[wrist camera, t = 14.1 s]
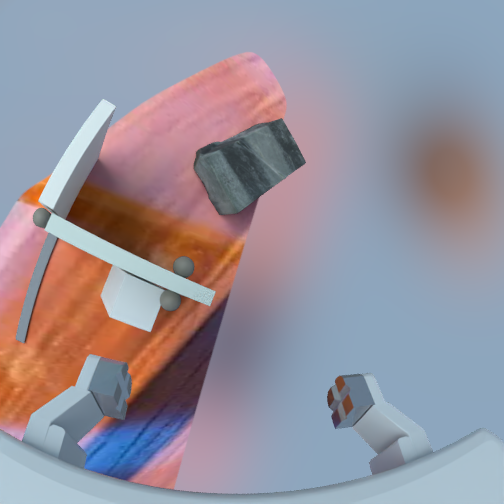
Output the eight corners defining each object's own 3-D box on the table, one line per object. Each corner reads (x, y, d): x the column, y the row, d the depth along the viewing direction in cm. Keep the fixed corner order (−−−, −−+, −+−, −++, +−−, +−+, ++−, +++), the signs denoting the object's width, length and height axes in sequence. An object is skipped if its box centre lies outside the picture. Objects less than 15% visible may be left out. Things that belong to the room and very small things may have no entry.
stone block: (183, 158, 33) (201, 147, 29) (257, 120, 39) (279, 109, 35) (218, 216, 36) (239, 213, 32) (283, 168, 43) (307, 162, 39)
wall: (24, 342, 21) (2, 407, 10) (15, 338, 21) (-11, 401, 9) (98, 158, 26) (116, 106, 15) (90, 154, 26) (103, 98, 14)
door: (169, 258, 32) (224, 270, 21) (154, 295, 31) (201, 327, 20) (61, 203, 24) (50, 179, 13) (44, 243, 23) (19, 248, 12)
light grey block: (142, 277, 31) (166, 291, 23) (130, 308, 30) (150, 332, 22) (113, 263, 28) (126, 273, 21) (100, 295, 27) (109, 316, 20)
